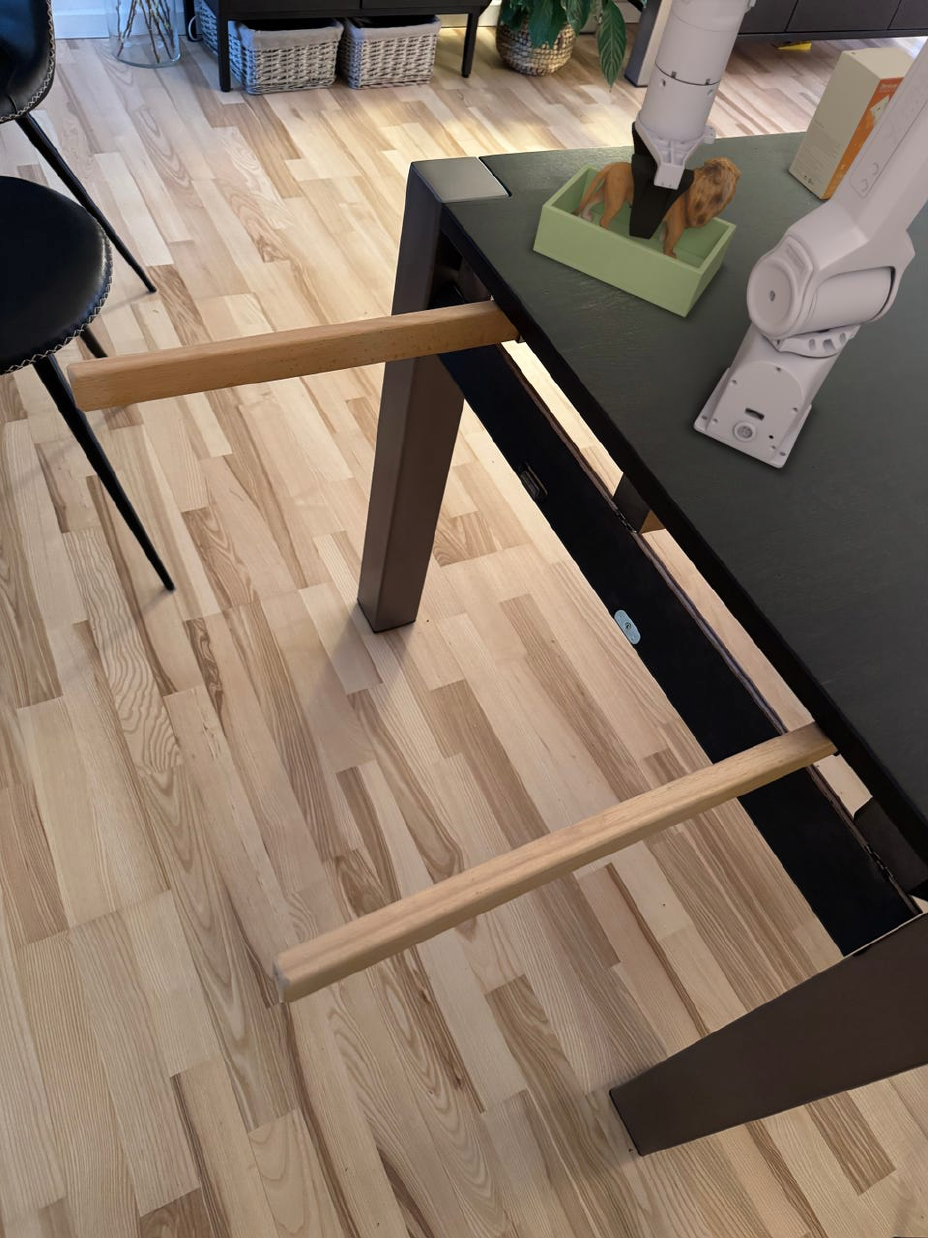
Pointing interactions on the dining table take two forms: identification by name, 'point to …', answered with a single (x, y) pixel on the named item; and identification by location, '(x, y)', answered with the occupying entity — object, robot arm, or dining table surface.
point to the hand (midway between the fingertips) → (639, 221)
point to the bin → (630, 248)
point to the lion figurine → (687, 211)
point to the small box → (847, 115)
